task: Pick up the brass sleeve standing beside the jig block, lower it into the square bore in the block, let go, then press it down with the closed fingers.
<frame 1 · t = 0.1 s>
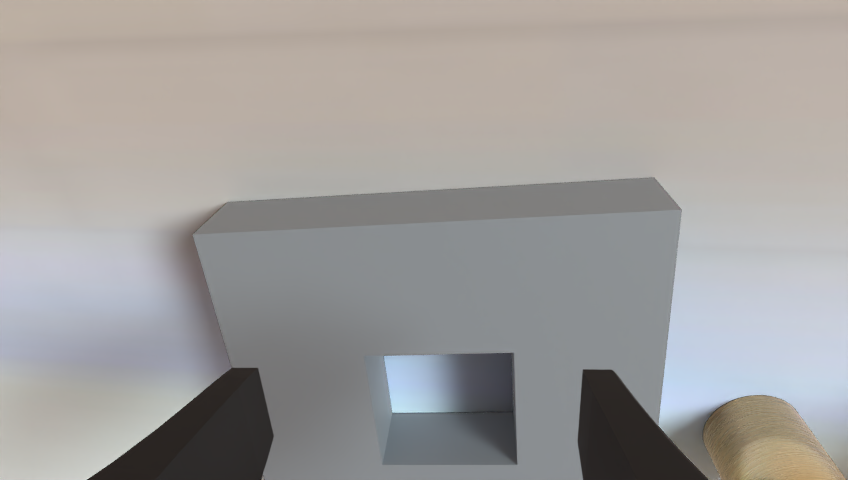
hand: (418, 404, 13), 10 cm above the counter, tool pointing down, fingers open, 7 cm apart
brass sleeve: (751, 431, 25), on the counter
jig block: (447, 363, 24), on the counter
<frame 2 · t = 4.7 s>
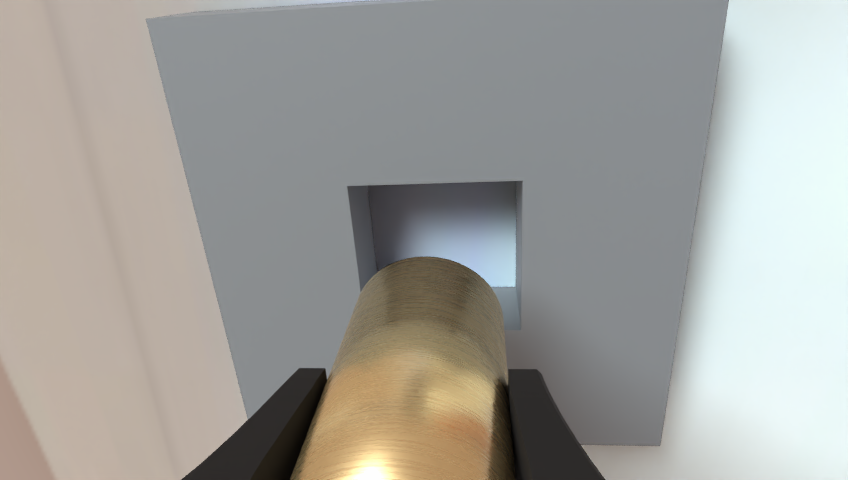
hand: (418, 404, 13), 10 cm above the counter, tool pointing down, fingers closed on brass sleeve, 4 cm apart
brass sleeve: (428, 323, 15), point 7 cm above the counter, touching gripper
jig block: (443, 225, 21), on the counter
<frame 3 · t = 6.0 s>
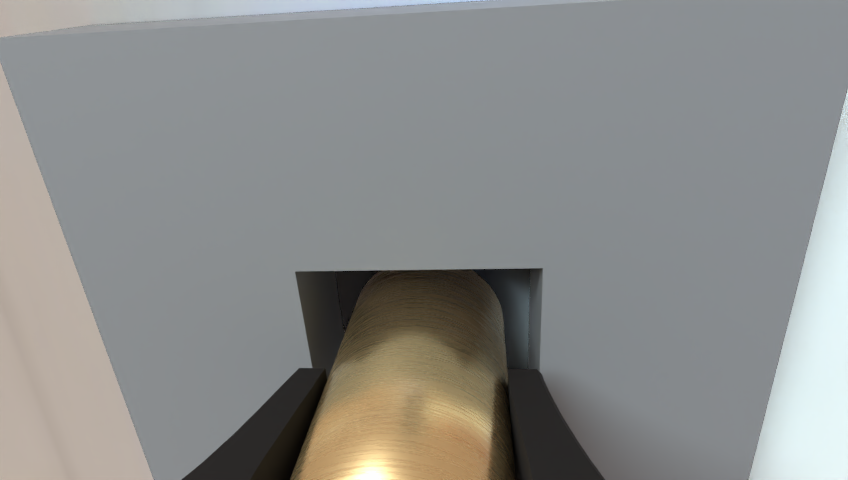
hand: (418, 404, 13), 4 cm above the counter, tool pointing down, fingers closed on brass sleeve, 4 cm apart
brass sleeve: (428, 323, 15), point 1 cm above the counter, touching gripper
jig block: (432, 304, 16), on the counter
when the fingers open (4 cm above the counter, at t = 6.9 s): brass sleeve stays where it is, resting in jig block.
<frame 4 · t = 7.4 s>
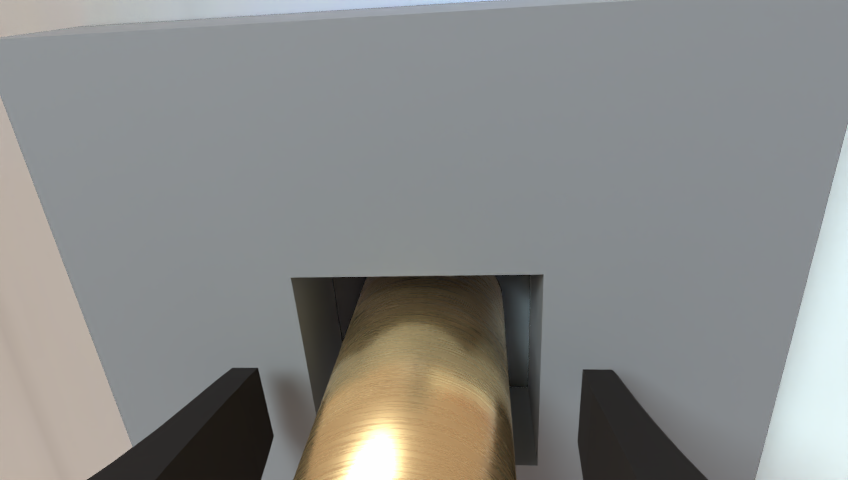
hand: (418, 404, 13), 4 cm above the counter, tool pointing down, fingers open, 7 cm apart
brass sleeve: (431, 304, 16), resting in jig block
jig block: (431, 309, 16), on the counter
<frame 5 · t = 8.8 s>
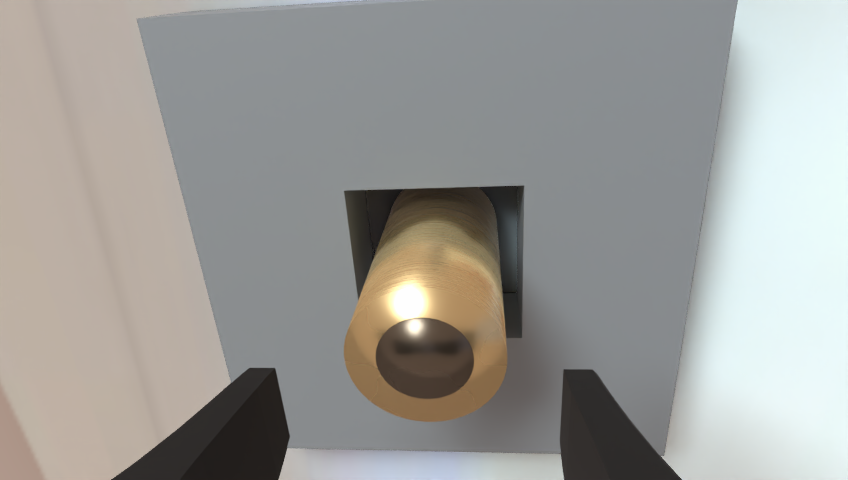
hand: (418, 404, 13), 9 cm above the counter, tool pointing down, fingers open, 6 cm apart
brass sleeve: (442, 225, 21), resting in jig block
jig block: (442, 229, 21), on the counter
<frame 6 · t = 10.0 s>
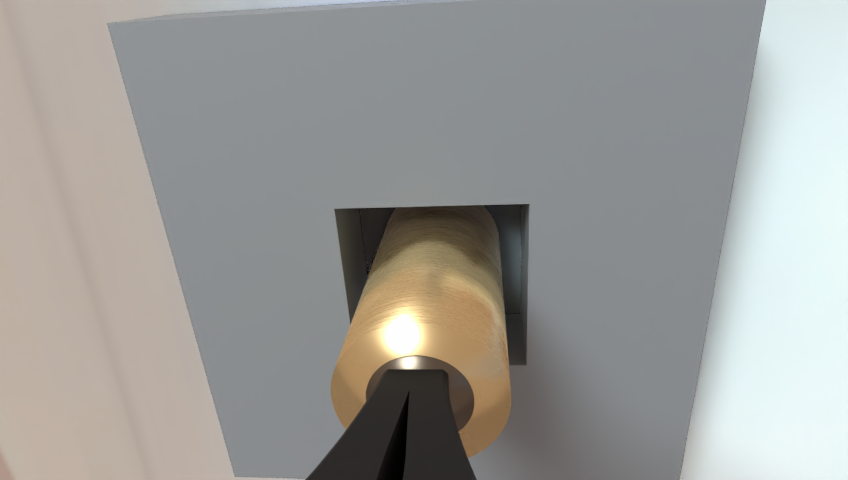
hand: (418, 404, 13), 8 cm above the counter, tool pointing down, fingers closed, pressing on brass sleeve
brass sleeve: (441, 242, 20), resting in jig block, touching gripper
jig block: (441, 247, 20), on the counter
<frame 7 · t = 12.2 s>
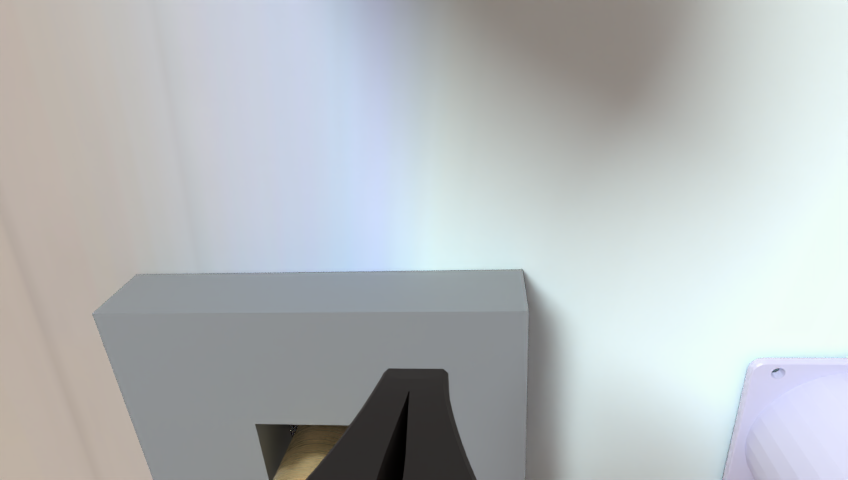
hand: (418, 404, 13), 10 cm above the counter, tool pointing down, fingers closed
brass sleeve: (346, 424, 26), resting in jig block
jig block: (346, 423, 26), on the counter
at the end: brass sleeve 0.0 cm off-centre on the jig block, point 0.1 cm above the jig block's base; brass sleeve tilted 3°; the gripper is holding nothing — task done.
